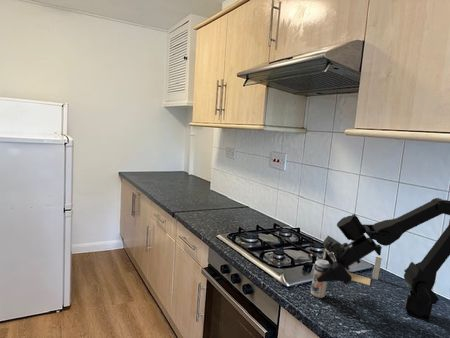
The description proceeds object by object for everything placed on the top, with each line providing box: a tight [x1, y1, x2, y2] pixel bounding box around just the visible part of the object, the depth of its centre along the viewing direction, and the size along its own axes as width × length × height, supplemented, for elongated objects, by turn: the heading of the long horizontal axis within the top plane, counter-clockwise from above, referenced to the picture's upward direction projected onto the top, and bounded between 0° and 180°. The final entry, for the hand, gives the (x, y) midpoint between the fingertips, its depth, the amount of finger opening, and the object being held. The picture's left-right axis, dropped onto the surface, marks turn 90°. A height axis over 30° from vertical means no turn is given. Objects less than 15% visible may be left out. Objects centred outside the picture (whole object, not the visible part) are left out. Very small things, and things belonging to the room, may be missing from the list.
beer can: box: [310, 258, 329, 299], centre depth 105 cm, size 5×5×12 cm
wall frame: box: [322, 248, 383, 281], centre depth 126 cm, size 21×2×9 cm, turn 63°
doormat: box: [349, 272, 372, 287], centre depth 120 cm, size 9×6×1 cm, turn 63°
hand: (316, 275), depth 105 cm, fingers open, 6 cm apart
